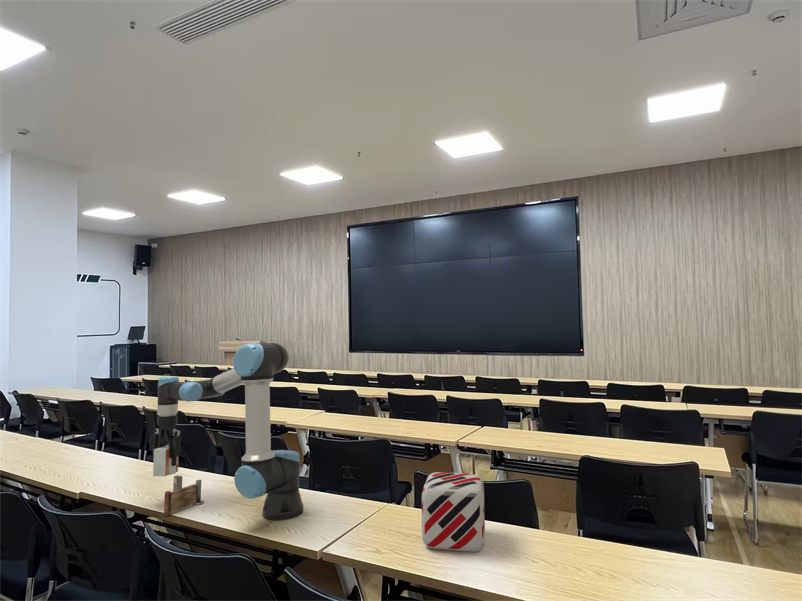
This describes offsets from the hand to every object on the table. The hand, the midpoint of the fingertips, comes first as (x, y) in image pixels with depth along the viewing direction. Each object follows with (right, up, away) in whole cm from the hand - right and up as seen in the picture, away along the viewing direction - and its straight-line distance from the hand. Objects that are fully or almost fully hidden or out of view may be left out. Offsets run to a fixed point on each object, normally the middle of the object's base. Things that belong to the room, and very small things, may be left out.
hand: (165, 473), depth 184 cm
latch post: (+1, -13, +8) cm, 16 cm away
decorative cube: (+112, -10, -34) cm, 118 cm away
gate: (+9, -12, -7) cm, 16 cm away
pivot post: (+13, -13, +1) cm, 18 cm away
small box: (0, 0, 0) cm, 1 cm away
